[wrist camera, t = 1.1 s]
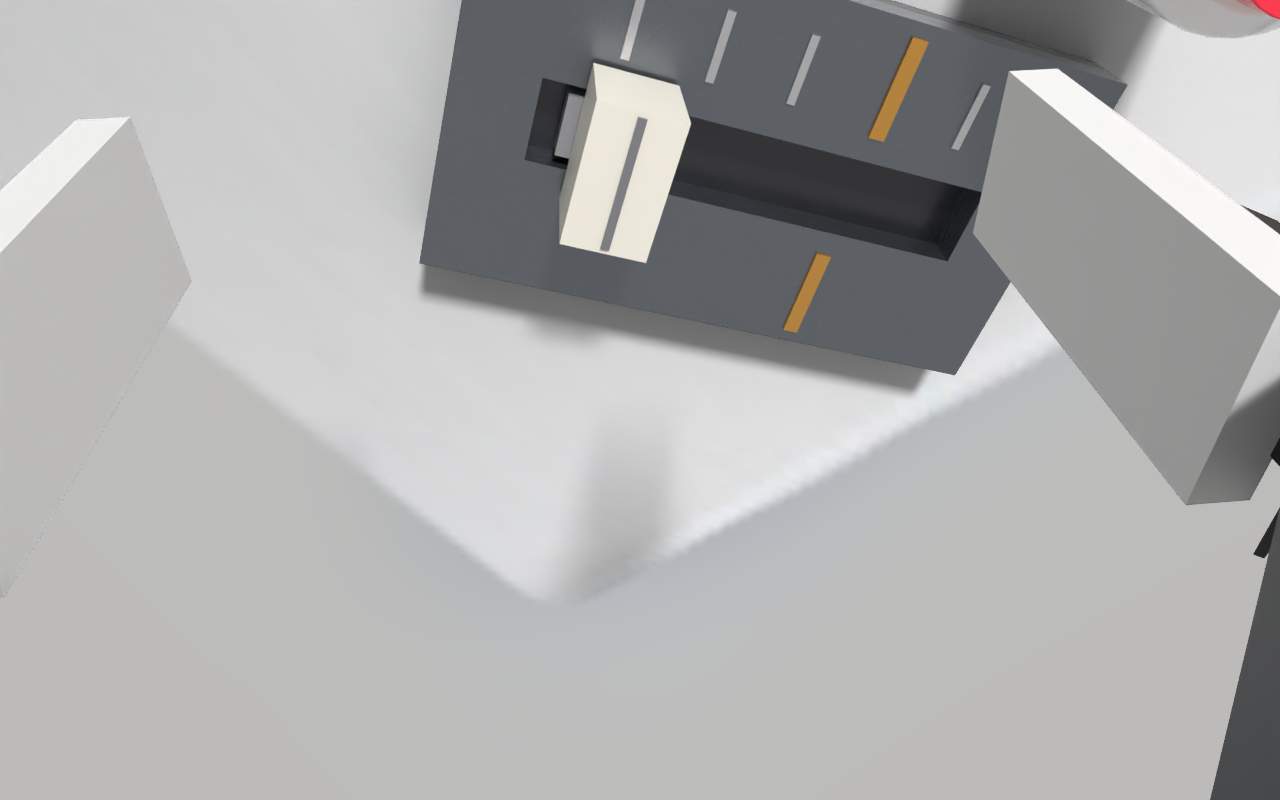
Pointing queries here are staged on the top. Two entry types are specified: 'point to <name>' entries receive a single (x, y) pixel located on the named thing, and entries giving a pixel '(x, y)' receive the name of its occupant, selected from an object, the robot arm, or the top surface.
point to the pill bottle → (1217, 16)
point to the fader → (618, 160)
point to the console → (750, 163)
